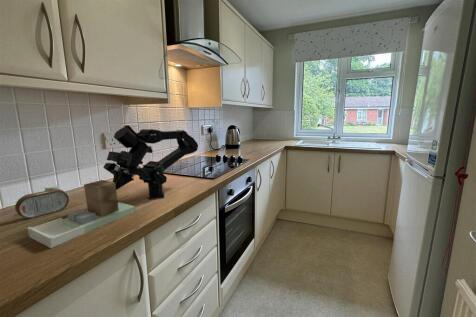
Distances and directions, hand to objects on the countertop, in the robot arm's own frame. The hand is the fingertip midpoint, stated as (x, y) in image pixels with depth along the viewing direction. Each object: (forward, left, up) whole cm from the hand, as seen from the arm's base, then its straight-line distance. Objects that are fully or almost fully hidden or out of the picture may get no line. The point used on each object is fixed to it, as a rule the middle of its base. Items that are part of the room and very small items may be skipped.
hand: (112, 191), depth 84 cm
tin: (-8, -24, -8) cm, 27 cm away
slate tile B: (+6, -9, -6) cm, 13 cm away
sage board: (+3, -3, -8) cm, 9 cm away
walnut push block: (+3, -3, -6) cm, 7 cm away
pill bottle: (-15, -24, -8) cm, 30 cm away
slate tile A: (+9, -6, -6) cm, 13 cm away
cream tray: (+13, -13, -8) cm, 20 cm away
